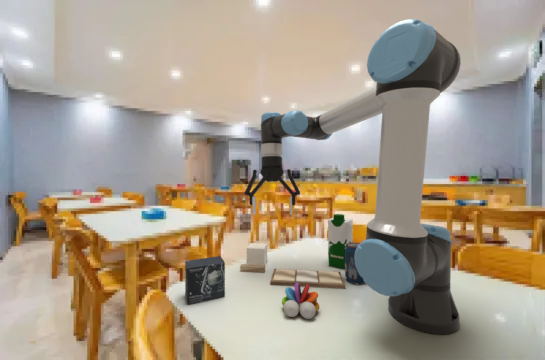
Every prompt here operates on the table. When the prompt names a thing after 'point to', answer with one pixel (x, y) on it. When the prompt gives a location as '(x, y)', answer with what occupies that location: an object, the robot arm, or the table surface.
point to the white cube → (257, 254)
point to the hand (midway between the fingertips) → (272, 214)
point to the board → (307, 278)
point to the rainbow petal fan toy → (306, 300)
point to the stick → (252, 268)
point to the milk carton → (339, 239)
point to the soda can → (352, 265)
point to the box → (204, 279)
